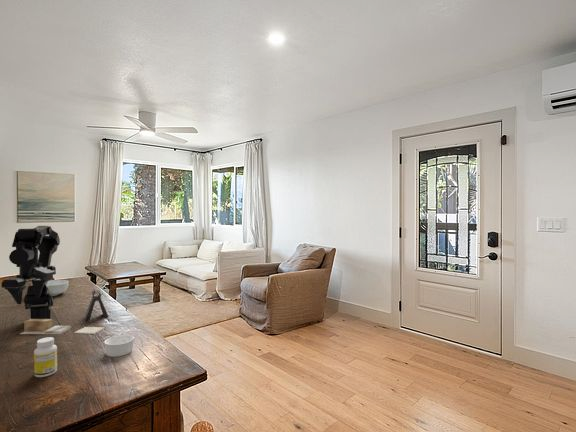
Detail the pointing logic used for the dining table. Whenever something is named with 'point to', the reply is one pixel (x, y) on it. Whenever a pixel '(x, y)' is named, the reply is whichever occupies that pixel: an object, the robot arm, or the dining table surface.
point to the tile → (89, 330)
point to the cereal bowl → (57, 286)
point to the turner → (43, 326)
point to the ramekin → (119, 345)
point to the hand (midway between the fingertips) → (29, 300)
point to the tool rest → (39, 332)
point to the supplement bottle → (45, 357)
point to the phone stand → (91, 305)
